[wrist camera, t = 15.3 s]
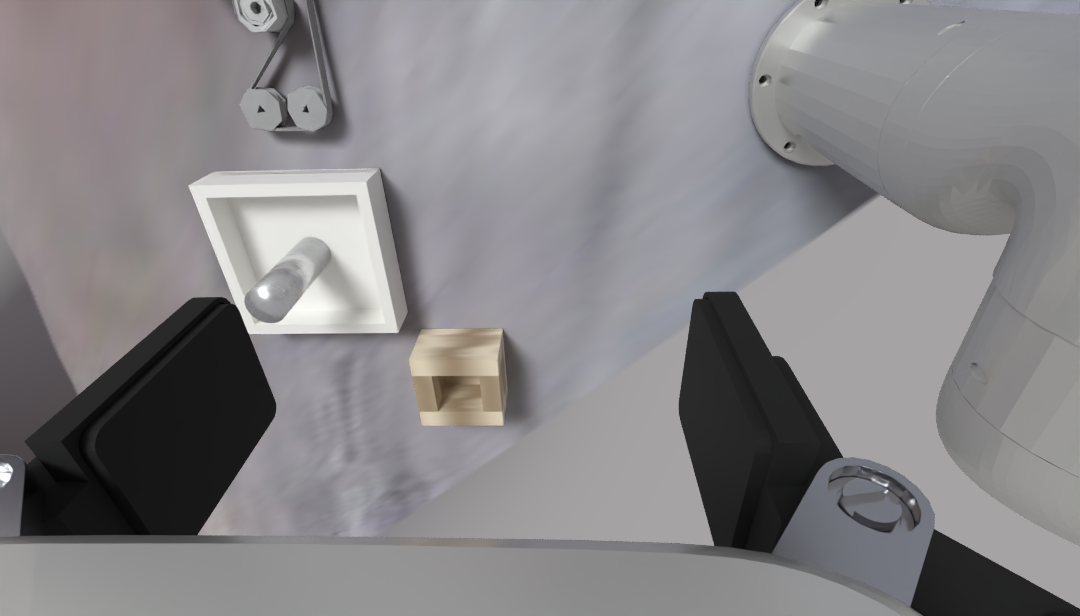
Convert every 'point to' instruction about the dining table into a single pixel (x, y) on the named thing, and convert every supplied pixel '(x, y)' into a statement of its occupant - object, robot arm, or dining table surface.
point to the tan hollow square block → (460, 376)
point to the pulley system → (265, 9)
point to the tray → (295, 213)
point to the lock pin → (287, 280)
